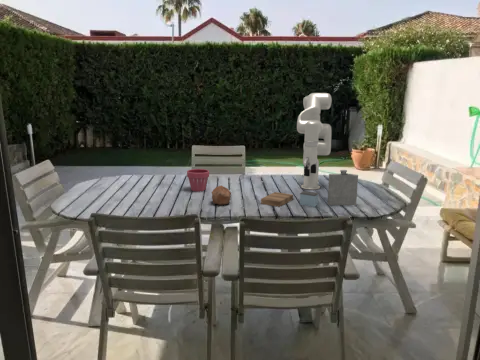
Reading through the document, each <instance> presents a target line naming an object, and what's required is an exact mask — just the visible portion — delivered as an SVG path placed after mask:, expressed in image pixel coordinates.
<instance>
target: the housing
mask: <svg viewBox="0 0 480 360" xmlns="http://www.w3.org/2000/svg"><path fill="white" fill-rule="evenodd" d="M299 205H301V206H306V205H307V206H308V207H313V208H315V207H316V205H317V206H318V205H319V193H318V192H312V191H305V190H302V191H301V192H300V193H299Z"/></svg>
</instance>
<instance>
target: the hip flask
mask: <svg viewBox="0 0 480 360" xmlns="http://www.w3.org/2000/svg"><path fill="white" fill-rule="evenodd" d="M339 172H340V173H329V174H328V188H327V189H328V191H327V206H349V205H356V206H357V197H358V184H359V183H358V182H359V175H358V174H356V173H355V174H354V173H347V172H348V170H347V169H340V171H339Z"/></svg>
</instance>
